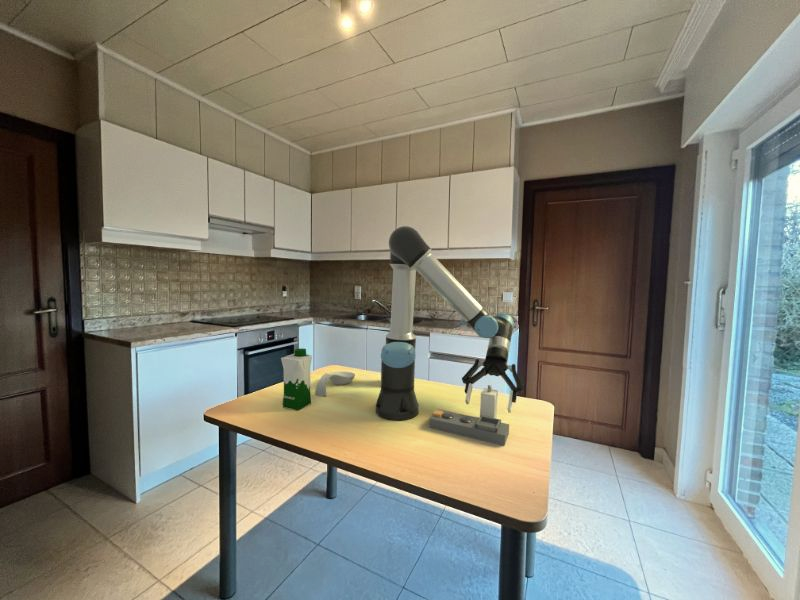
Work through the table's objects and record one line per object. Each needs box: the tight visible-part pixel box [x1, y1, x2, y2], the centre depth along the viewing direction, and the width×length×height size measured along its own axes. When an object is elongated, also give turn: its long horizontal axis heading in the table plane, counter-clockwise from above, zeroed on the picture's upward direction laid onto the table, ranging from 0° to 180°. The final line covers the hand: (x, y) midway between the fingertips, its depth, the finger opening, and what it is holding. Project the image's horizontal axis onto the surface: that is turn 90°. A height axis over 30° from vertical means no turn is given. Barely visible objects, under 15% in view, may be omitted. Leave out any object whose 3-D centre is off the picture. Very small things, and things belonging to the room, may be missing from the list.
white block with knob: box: [479, 384, 499, 419], centre depth 111 cm, size 4×5×12 cm
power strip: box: [429, 409, 510, 446], centre depth 104 cm, size 23×8×4 cm, turn 64°
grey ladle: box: [314, 371, 356, 397], centre depth 140 cm, size 24×12×7 cm, turn 164°
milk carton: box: [280, 348, 313, 411], centre depth 120 cm, size 9×9×20 cm
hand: (487, 406), depth 109 cm, fingers open, 13 cm apart
